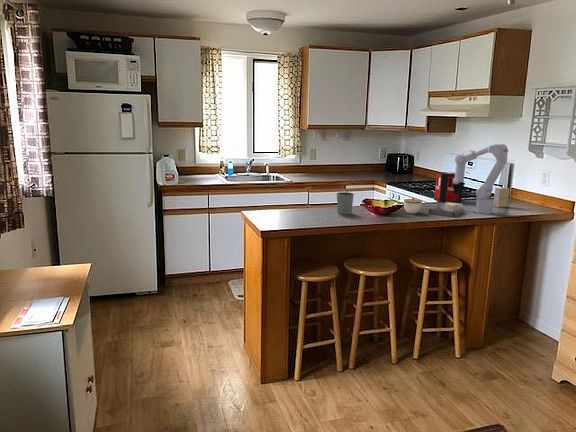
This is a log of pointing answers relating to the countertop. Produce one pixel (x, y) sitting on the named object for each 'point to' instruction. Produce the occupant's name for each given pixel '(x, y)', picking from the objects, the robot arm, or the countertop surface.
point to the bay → (437, 211)
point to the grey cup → (344, 202)
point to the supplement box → (501, 197)
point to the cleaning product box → (446, 188)
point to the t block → (452, 206)
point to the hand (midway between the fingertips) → (457, 193)
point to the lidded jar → (412, 205)
